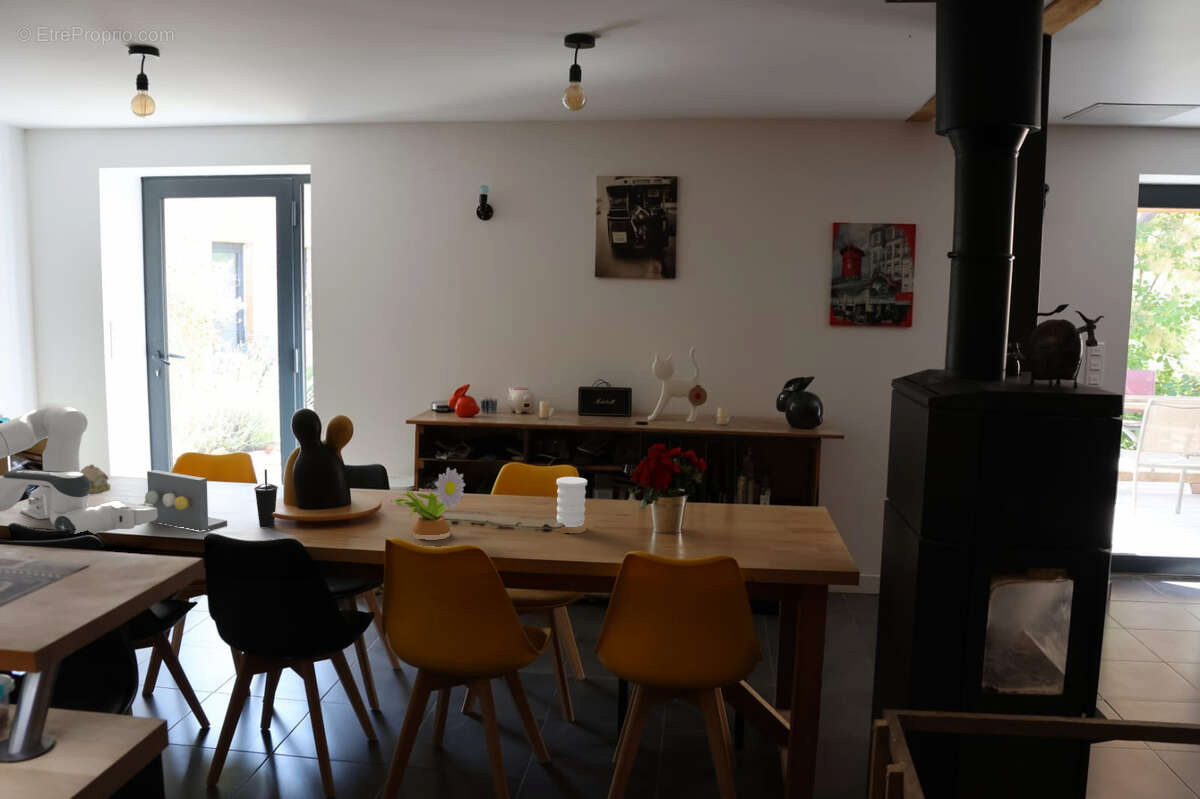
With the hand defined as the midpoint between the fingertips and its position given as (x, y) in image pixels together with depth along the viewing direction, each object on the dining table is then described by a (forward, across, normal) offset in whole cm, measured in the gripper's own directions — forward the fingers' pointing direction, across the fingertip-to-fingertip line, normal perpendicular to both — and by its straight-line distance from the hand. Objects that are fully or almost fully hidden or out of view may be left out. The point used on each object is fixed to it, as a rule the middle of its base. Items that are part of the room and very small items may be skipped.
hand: (150, 506), depth 289 cm
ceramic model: (+30, -72, -10) cm, 79 cm away
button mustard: (+7, +6, -2) cm, 10 cm away
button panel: (+15, -1, -10) cm, 18 cm away
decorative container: (+78, +116, -10) cm, 140 cm away
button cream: (+8, -1, -2) cm, 9 cm away
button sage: (+7, -8, -2) cm, 11 cm away
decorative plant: (+48, +77, -10) cm, 92 cm away
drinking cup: (+27, +24, -10) cm, 37 cm away
